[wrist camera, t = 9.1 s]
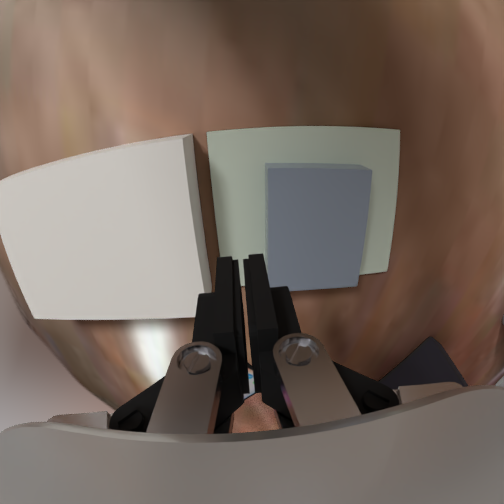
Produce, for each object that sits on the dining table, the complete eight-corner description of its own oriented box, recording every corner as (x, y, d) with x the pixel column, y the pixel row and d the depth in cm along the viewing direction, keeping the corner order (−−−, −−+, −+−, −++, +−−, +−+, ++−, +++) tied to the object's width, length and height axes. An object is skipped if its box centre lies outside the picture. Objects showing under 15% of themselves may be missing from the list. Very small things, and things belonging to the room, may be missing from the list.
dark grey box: (379, 397, 34) (414, 490, 20) (361, 390, 32) (397, 493, 19) (441, 344, 30) (498, 434, 17) (428, 332, 29) (490, 432, 15)
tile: (372, 170, 18) (361, 164, 20) (267, 168, 18) (264, 162, 20) (357, 286, 22) (348, 273, 24) (267, 292, 22) (265, 278, 24)
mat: (207, 131, 19) (206, 132, 18) (397, 129, 19) (399, 130, 19) (224, 284, 24) (224, 287, 24) (385, 269, 24) (386, 271, 24)
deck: (16, 173, 18) (-13, 186, 15) (192, 133, 19) (182, 138, 15) (53, 293, 24) (34, 318, 20) (212, 285, 24) (208, 316, 21)
